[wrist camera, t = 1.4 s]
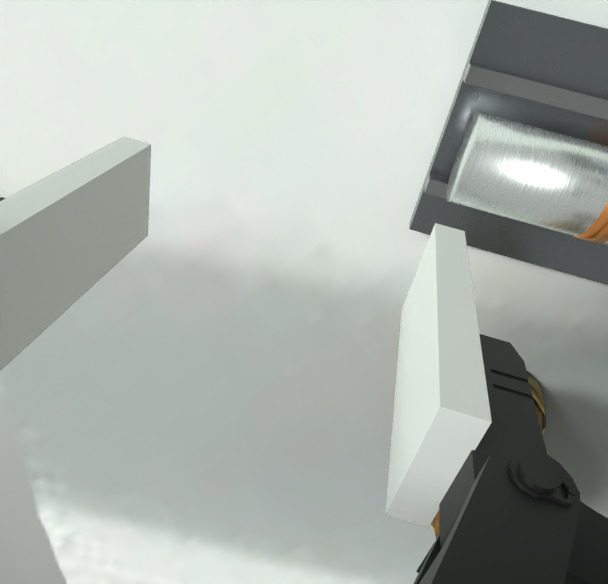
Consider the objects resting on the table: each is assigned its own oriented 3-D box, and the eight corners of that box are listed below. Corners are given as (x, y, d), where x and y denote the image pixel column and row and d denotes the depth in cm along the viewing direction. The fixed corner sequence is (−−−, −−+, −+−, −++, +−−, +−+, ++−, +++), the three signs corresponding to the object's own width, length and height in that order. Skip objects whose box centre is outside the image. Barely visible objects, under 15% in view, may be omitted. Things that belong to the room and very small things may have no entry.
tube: (448, 169, 28) (443, 220, 25) (481, 94, 25) (478, 142, 22) (702, 238, 27) (726, 298, 25) (771, 169, 24) (808, 230, 21)
